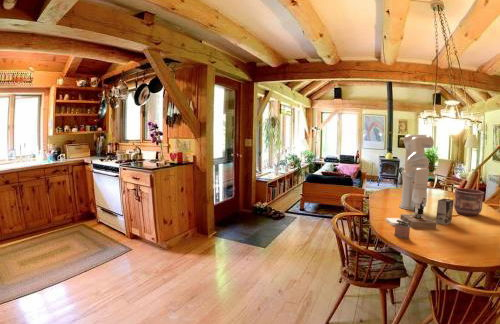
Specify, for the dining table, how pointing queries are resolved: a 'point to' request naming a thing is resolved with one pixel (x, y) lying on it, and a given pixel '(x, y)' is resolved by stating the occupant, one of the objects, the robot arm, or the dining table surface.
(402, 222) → the lighter
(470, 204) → the pottery
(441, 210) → the coffee box
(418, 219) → the plate
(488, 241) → the dining table surface
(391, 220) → the white square base plate
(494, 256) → the dining table surface
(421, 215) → the peg
